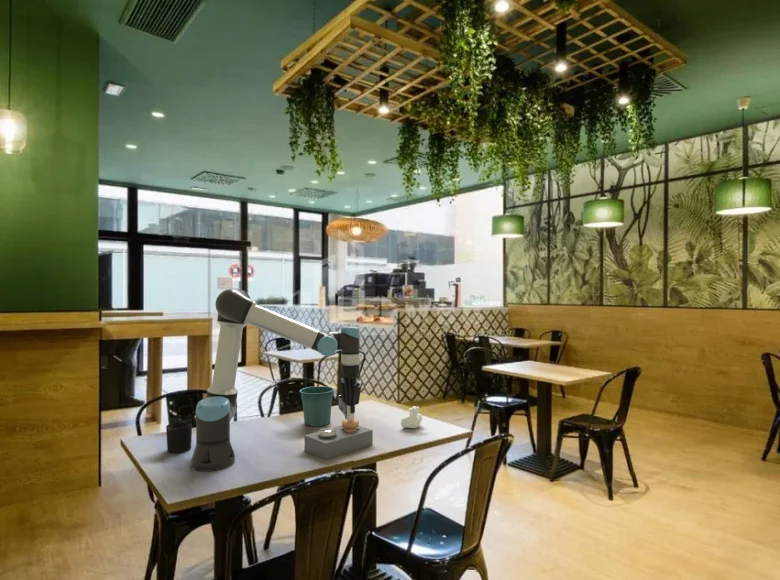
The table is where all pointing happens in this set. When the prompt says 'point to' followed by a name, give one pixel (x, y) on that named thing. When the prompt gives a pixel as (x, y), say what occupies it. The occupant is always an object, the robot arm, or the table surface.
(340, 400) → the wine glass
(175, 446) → the pen holder
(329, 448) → the press console
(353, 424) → the peach rounded piece
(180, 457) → the table surface
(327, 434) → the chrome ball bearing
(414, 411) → the bust
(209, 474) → the table surface
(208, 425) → the robot arm
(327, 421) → the flower pot
